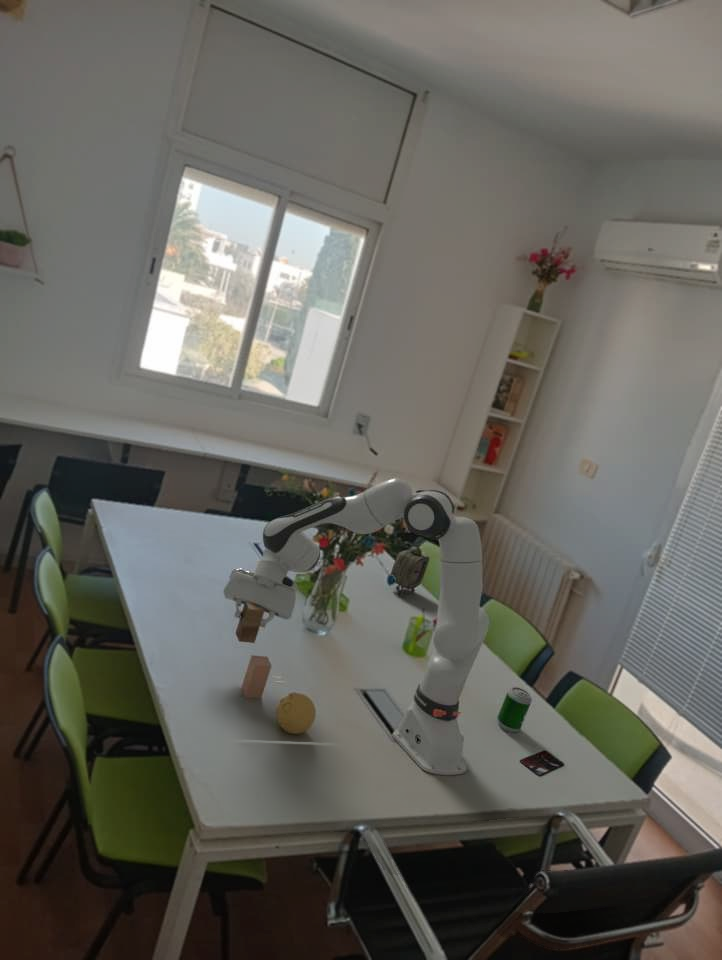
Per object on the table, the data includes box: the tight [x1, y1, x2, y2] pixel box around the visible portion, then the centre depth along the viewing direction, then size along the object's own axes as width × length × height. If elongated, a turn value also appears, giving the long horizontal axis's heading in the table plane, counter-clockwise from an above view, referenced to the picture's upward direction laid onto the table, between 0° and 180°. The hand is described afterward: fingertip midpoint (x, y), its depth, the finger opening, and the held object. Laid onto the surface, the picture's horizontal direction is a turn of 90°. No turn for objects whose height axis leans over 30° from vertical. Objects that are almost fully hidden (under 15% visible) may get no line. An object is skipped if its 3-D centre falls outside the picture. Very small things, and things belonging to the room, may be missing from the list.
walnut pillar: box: [235, 601, 265, 644], centre depth 204 cm, size 4×4×10 cm
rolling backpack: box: [390, 536, 430, 597], centre depth 310 cm, size 14×9×25 cm, turn 148°
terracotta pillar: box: [241, 655, 272, 700], centre depth 198 cm, size 4×4×10 cm
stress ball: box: [275, 692, 316, 735], centre depth 188 cm, size 10×10×10 cm
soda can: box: [496, 686, 533, 733], centre depth 226 cm, size 8×8×12 cm
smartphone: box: [519, 749, 565, 777], centre depth 212 cm, size 7×1×15 cm
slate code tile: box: [271, 675, 285, 684], centre depth 210 cm, size 8×8×1 cm
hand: (249, 621), depth 204 cm, fingers closed on walnut pillar, 6 cm apart
